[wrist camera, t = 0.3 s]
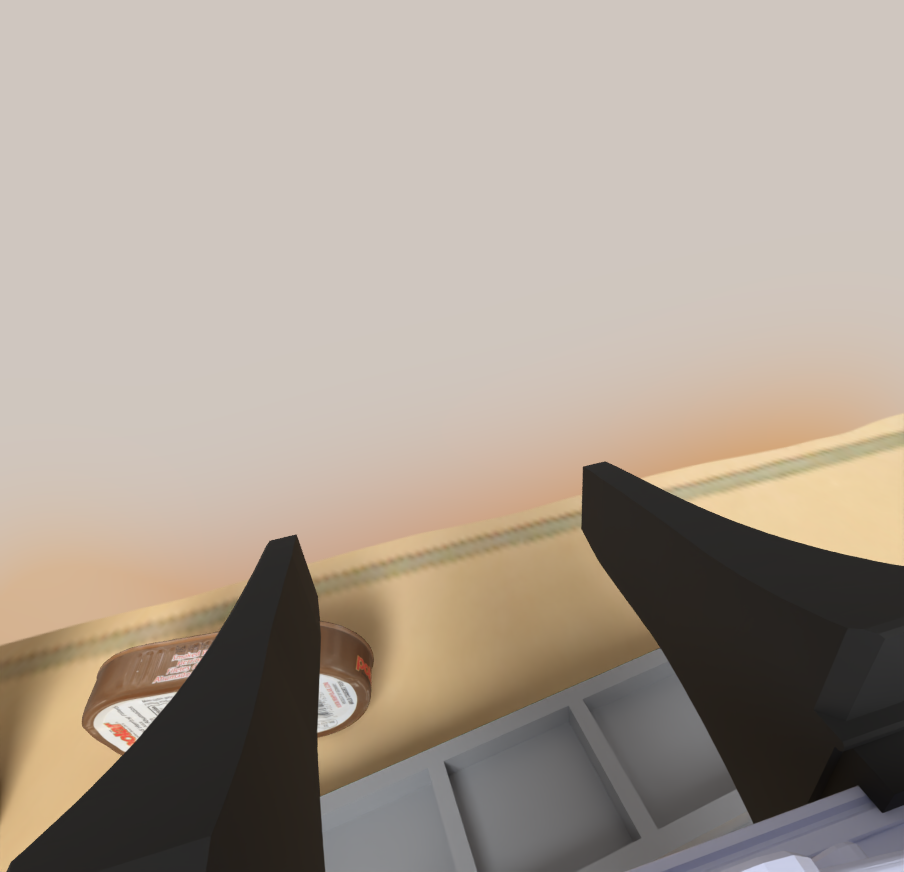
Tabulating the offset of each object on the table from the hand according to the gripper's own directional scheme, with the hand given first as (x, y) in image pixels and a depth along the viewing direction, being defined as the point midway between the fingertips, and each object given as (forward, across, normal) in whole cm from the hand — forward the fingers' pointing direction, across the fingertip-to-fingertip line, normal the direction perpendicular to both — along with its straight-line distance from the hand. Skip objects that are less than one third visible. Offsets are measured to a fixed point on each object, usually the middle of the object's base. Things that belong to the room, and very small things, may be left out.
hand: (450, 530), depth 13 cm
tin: (+10, +11, +21) cm, 26 cm away
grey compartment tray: (+2, -2, +20) cm, 21 cm away
